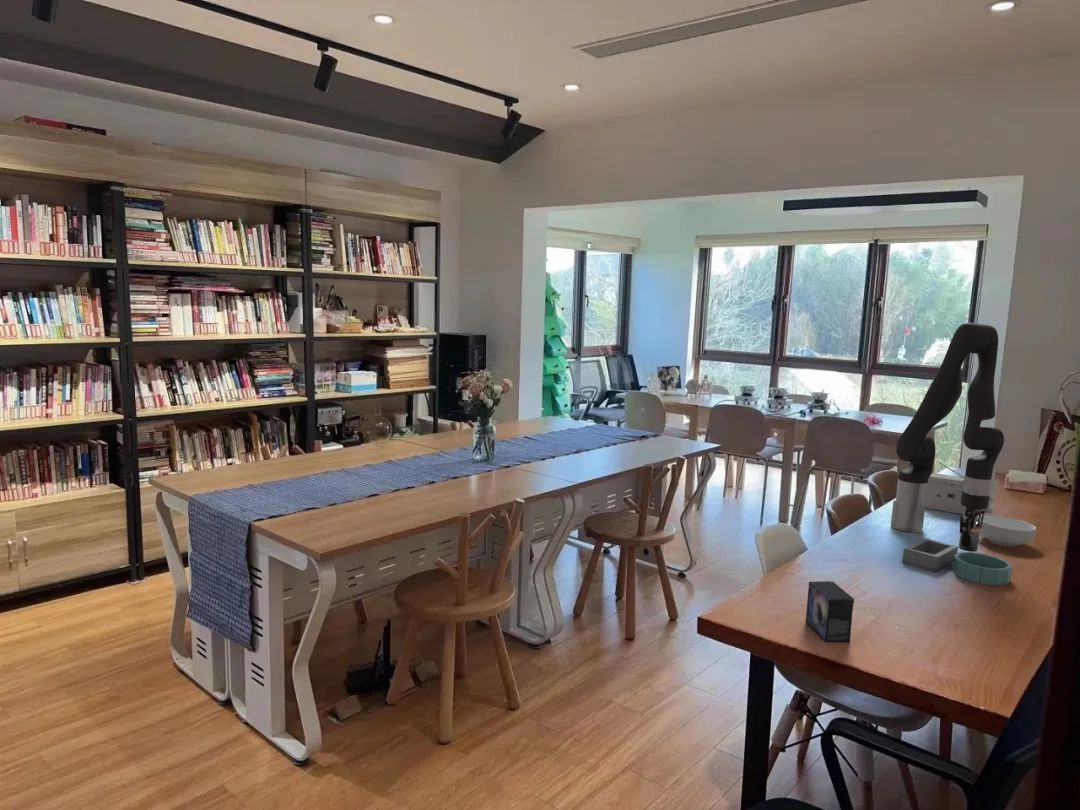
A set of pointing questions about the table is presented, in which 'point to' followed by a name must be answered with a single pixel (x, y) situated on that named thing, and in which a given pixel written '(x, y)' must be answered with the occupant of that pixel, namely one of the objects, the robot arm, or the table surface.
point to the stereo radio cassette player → (945, 492)
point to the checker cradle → (929, 554)
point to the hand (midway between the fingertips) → (968, 544)
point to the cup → (982, 568)
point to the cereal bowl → (1007, 531)
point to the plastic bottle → (991, 496)
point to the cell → (973, 541)
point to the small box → (829, 611)
